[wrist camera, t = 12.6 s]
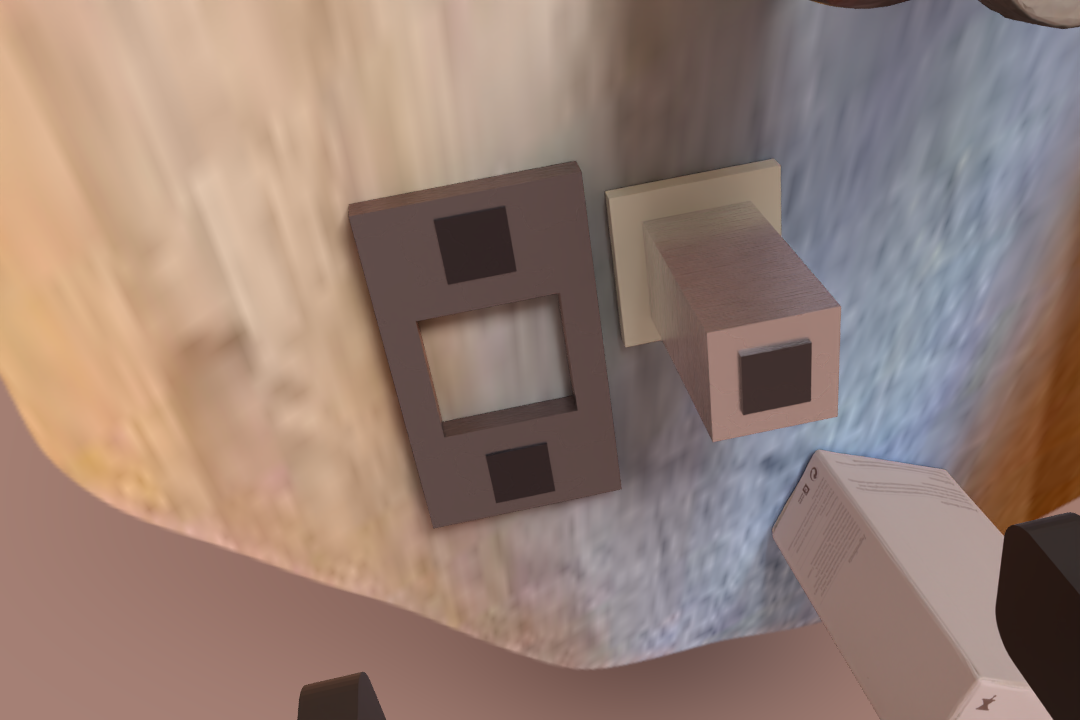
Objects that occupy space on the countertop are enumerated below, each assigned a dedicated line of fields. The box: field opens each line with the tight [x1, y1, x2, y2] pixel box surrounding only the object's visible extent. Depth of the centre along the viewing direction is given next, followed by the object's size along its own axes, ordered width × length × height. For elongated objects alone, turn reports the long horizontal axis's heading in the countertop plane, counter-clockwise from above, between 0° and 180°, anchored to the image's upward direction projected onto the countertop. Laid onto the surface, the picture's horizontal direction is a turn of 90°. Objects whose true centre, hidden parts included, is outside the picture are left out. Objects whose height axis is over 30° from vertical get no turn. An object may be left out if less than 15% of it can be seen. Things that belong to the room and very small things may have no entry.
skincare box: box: [772, 449, 1053, 720], centre depth 44 cm, size 8×6×15 cm
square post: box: [642, 201, 841, 442], centre depth 36 cm, size 4×4×9 cm
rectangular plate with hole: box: [349, 161, 622, 528], centre depth 42 cm, size 9×16×1 cm, turn 8°
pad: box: [605, 159, 781, 347], centre depth 41 cm, size 7×7×1 cm
